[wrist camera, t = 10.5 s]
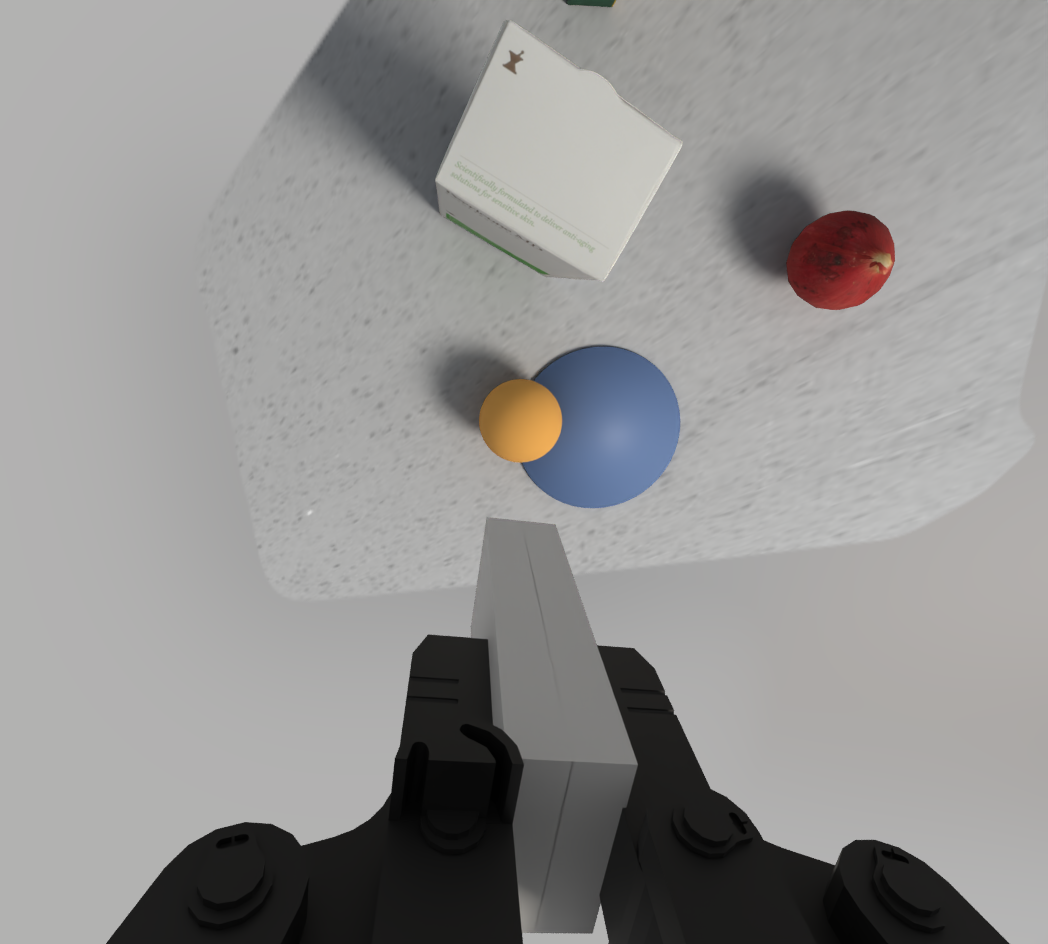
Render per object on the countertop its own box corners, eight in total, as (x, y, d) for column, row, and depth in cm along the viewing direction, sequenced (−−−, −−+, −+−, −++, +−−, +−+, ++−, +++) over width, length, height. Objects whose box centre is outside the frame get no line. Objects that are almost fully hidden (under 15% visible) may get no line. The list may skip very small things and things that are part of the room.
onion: (755, 298, 41) (820, 306, 33) (779, 208, 39) (853, 195, 32) (832, 311, 42) (912, 321, 34) (859, 224, 40) (950, 214, 32)
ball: (460, 380, 39) (520, 377, 43) (463, 463, 40) (522, 453, 44) (518, 380, 35) (578, 377, 39) (521, 472, 36) (579, 460, 40)
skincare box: (437, 213, 37) (418, 180, 23) (487, 109, 36) (501, 2, 21) (551, 281, 39) (602, 291, 25) (603, 186, 38) (690, 136, 23)
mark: (696, 359, 42) (697, 359, 42) (658, 515, 46) (659, 515, 45) (529, 334, 40) (529, 334, 40) (504, 498, 44) (504, 499, 44)
